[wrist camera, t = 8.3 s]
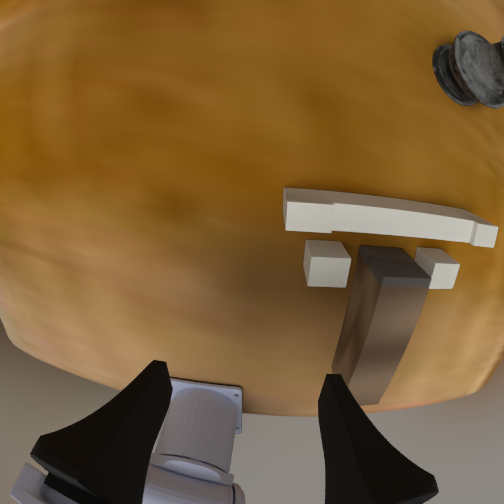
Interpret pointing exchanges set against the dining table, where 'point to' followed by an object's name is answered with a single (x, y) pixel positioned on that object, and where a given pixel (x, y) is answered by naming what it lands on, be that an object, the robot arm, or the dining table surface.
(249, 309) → the dining table surface
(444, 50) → the dark grey tall piece
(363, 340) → the block
